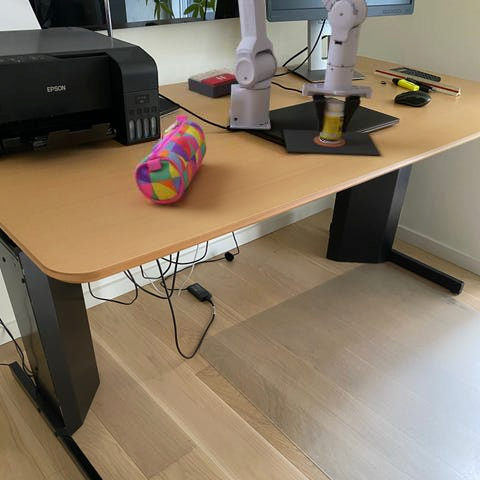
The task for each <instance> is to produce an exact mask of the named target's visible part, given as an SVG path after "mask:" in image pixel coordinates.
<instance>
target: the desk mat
mask: <svg viewBox="0 0 480 480" xmlns="http://www.w3.org/2000/svg"><path fill="white" fill-rule="evenodd" d="M282 132H283V137H284V142H285V147H286V153H287V154H308V155H310V154H311V155H314V154H315V155H334V156H335V155H337V156H338V155H339V156H366V157H381V153H380V152H379V150H378V148H377V146H376V145H375V143H374V141H373V140H372V138H371V136H370V134H369V133H368V132H365V131H346V132H345V133H342V134H341V140H340V142H339V143H337V144H327V143H323V142H321V141H320V132H318V130H312V129H283V130H282Z"/></svg>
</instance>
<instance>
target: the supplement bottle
mask: <svg viewBox="0 0 480 480" xmlns="http://www.w3.org/2000/svg"><path fill="white" fill-rule="evenodd" d="M325 102H326V105H325V109H324V115H323V125H322V132H320V138H321V139H322V140H324V141H322V140H321V139H320V141H321V142H323V143H327V144H337V143H339V142H340V140H341V134H342V128H343V122H344V115H345V113H344V107H345V100H342V99H334V98H332V99H327V100H325ZM325 141H326V142H325Z"/></svg>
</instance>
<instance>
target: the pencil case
mask: <svg viewBox="0 0 480 480" xmlns="http://www.w3.org/2000/svg"><path fill="white" fill-rule="evenodd" d="M206 153H207V140H206V136H205V133H204V131H203V129H202V128H201V126H200V125H199V124H198V123H196V122H193V121H190V120H188V115H185V114H184V115H176V116H175V121H174V122H172V123H171V124H170V126H169V127H168V128H166V129H165V130H164V134H163V135H162V136H161V139H160V140H159V141H158V142H157V143H156V144H155V146H153V147H152V150H151V151H150V153H149V154H148V155H147V156H146V157H145V158H143V159H142V160H141V161H140V162H139V163H138V164H137V165H136V167H135V169H134V180H135V184H136V186H137V187H138V190H139V191H140V193H141V194H142V195H143V196H144V197H145V198H146V199H147V200H149V201H151V202H153V203H157V204H162V205H167V204H168V205H169V204H173V203H175V202H177V201H178V200H180V199H181V198H182V196H183V195H184V193H185V191H186V189H187V188H188V186H189V185H190V183H191V182H192V180H193V179H194V176H195V174H196V173H197V171H198V169H199V168H200V166H201V165H202V163H203V161H204V158H205V156H206Z"/></svg>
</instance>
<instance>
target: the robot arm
mask: <svg viewBox="0 0 480 480" xmlns="http://www.w3.org/2000/svg"><path fill="white" fill-rule="evenodd" d="M320 1H321V3H322V4H323V6H324V7H325V9H326V11H328V12H327V21H328V24H329V26H330V37H329V45H328V53H327V61H326V67H325V75H324V83H313V84H304V83H303V84H302V90H301V95H302V97H306V98H307V97H311V98H312V101H313V104H314V109H315V114H316V123H317V125H316V128H317V131H318V132H322V125H323V115H324V110H325V109H326V108H325V107H326V97H331V98H333V97H334V98H344V102H345V105H344V110H343V111H344V113H345V115H344V122H343V128H342V133H345V132H347V129H348V127H349V123H350V122H351V120H352V118H353V116H354V114H355V113H356V111H357V110H358V109H359V107H360V106H361V102H362V100H361V98H362V99H363V98H364V99H366V100H371V99H372V95H373V88H372V87H371V86H364V85H355V84H353V79H354V78H353V77H354V73H355V67H356V61H357V53H358V48H359V43H360V42H359V41H360V35H361V28H362V26H361V25H363V23H364V22H365V21H366V18H367V16H368V12H369V11H368V10H369V8H368V3H367V1H366V0H320ZM237 2H238V12H239V23H240V31H241V40H240V42H239V44H238V46H237V47H236V50H235V62H234V63H235V64H234V68H233V70H234V74H235V77H236V79H237V81H238V82H239V84H233V85H231V93H230V109H229V111H228V113H229V114H228V115H229V116H228V118H229V119H230V124H229V125H230V126H229V127H230V129H238V130H239V129H243V130H266V131H269V130H271V120H270V116H269V115H270V106H271V105H270V102H271V89H272V87H271V86H272V81H273V78H274V77H275V76H276V74H277V72H278V65H279V63H278V59H277V57H276V55H275V52H274V46H273V45H274V44H273V43H272V42H271V40H270V39H269V37H268V35H267V23H266V10H265V0H237ZM267 122H268V123H267ZM265 123H266V124H265ZM260 124H263V125H260Z"/></svg>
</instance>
